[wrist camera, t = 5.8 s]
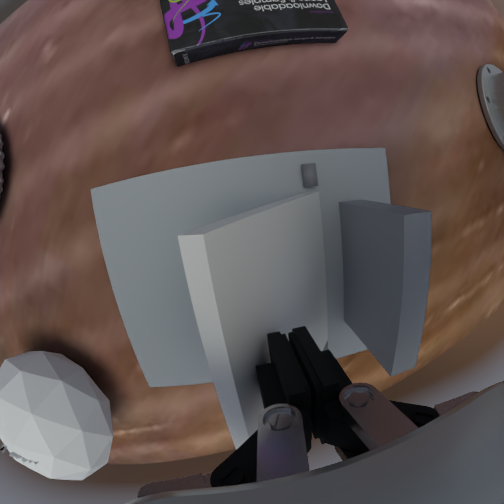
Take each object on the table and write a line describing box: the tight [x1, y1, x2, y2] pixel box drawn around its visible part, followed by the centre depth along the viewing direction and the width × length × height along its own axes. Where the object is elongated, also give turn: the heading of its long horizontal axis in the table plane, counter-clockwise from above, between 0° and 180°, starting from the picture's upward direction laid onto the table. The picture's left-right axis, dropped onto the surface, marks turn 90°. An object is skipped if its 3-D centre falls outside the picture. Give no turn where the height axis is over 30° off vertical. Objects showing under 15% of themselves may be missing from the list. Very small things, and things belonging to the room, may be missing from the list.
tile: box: [178, 191, 328, 450], centre depth 15 cm, size 13×12×1 cm
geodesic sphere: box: [0, 351, 113, 480], centre depth 16 cm, size 14×14×14 cm
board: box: [91, 148, 432, 387], centre depth 17 cm, size 23×18×9 cm
